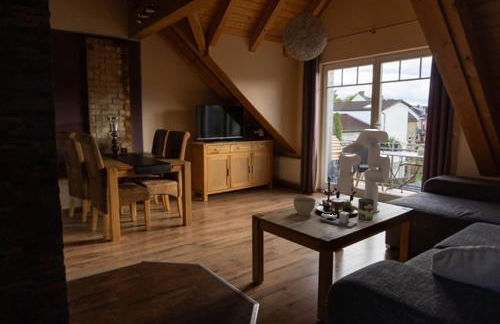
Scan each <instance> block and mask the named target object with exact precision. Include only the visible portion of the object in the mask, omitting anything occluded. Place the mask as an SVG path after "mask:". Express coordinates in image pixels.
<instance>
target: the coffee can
mask: <svg viewBox="0 0 500 324" xmlns="http://www.w3.org/2000/svg"><path fill="white" fill-rule="evenodd" d="M357 200H358V202H357V204H358V205H357V206H358V207H357V220H358V221H359V222H363V223H371V222H373V220H374V213H373V206H374V200H372V199H367V198H359V199H357Z"/></svg>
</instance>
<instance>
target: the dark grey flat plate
mask: <svg viewBox="0 0 500 324" xmlns="http://www.w3.org/2000/svg"><path fill="white" fill-rule="evenodd" d="M320 222H322V223H325V224H329V225H334V226H338V227H342V228H346V229H352V228H354V227H356V226H357V224H358V223H357V222H354V221H350V220H349V223H348V224H342V223H339V218H337V217H336V218H333V217H329V216H327V217H325V218H324V217H322V218H320Z"/></svg>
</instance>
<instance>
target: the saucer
mask: <svg viewBox="0 0 500 324" xmlns="http://www.w3.org/2000/svg"><path fill="white" fill-rule="evenodd" d="M324 213H325V212H323V213H321V215H320V216H321V217H322V218H325V217H327V216H329V217H333V218H337V217H338V214H336V215H333V214H332V215H330V214H324Z"/></svg>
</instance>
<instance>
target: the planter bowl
mask: <svg viewBox="0 0 500 324" xmlns="http://www.w3.org/2000/svg"><path fill="white" fill-rule="evenodd" d="M292 201H293V207H294V209H295V211H296V213H297V214H298V215H299V216H304V217H305V216H310V215H311V213H312V212H313V211H314V209H315V206H316V199H315V198H313V197H307V196H298V197H294V198H293V199H292Z"/></svg>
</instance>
